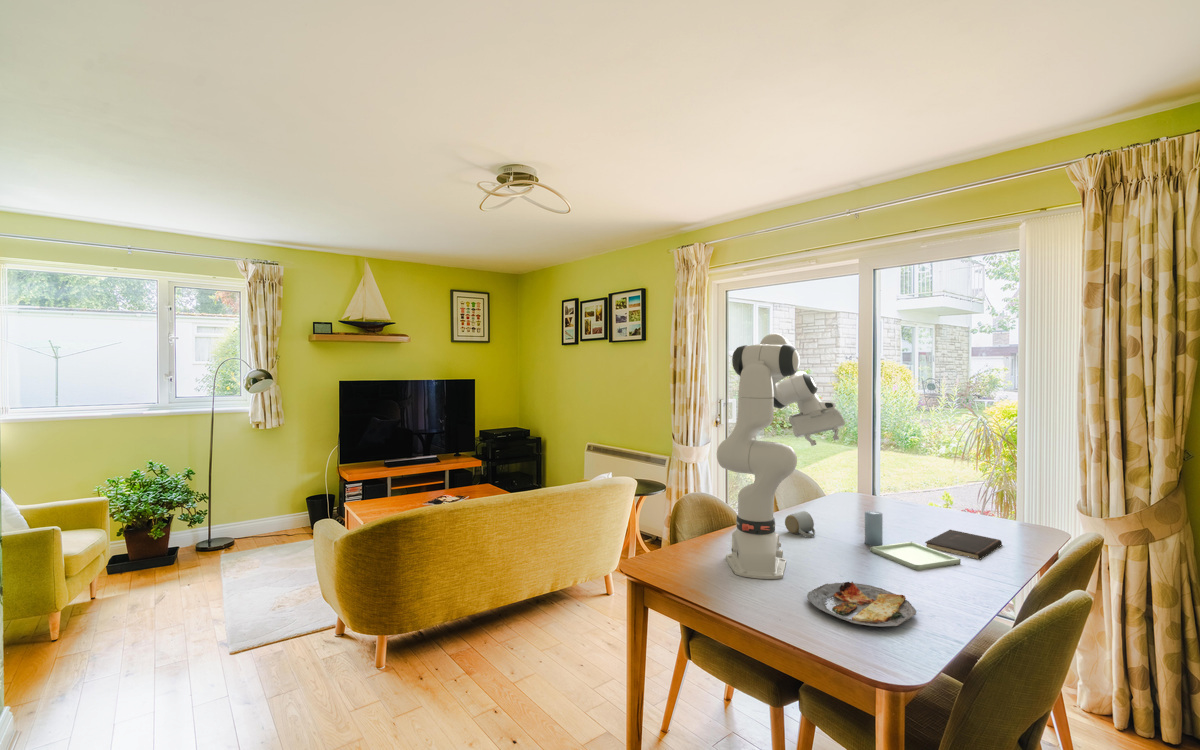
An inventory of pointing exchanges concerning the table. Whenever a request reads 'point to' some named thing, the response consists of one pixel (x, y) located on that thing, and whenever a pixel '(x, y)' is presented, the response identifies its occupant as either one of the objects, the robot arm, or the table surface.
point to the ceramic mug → (800, 523)
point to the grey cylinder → (873, 528)
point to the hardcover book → (963, 543)
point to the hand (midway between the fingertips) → (825, 442)
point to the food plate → (863, 604)
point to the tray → (915, 555)
